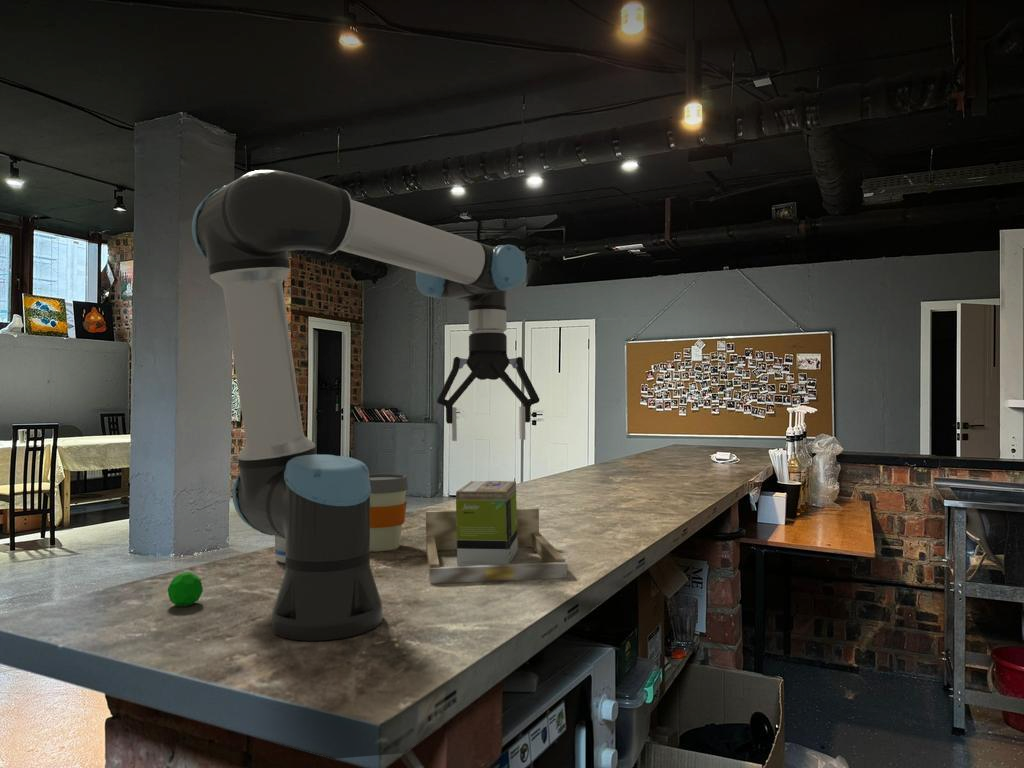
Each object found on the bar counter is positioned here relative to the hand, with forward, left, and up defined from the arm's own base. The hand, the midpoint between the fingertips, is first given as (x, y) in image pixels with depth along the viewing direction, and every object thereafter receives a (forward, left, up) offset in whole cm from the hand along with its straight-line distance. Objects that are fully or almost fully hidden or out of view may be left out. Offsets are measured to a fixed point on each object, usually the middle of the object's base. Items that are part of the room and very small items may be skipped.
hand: (488, 440), depth 139 cm
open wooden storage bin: (0, -3, -24) cm, 24 cm away
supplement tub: (-37, +6, -24) cm, 45 cm away
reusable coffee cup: (-22, +15, -24) cm, 36 cm away
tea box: (0, 0, -24) cm, 24 cm away
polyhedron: (-50, -23, -24) cm, 60 cm away
